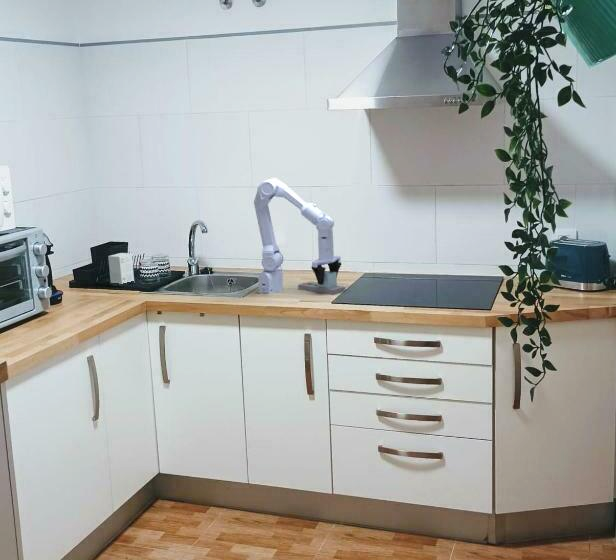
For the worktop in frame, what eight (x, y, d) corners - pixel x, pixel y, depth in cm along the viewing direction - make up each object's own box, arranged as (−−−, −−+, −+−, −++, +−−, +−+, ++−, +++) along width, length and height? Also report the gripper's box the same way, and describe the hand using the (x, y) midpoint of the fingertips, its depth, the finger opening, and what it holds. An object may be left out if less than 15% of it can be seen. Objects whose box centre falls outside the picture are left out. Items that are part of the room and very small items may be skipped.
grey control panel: (333, 296, 304) (333, 289, 304) (298, 290, 316) (298, 284, 316) (345, 293, 309) (345, 285, 309) (310, 287, 321) (309, 280, 321)
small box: (123, 282, 346) (120, 252, 343) (134, 283, 343) (132, 253, 340) (110, 286, 339) (107, 255, 336) (122, 287, 336) (119, 256, 333)
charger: (329, 293, 307) (328, 272, 305) (317, 291, 311) (317, 270, 309) (337, 290, 310) (336, 270, 309) (325, 289, 314) (324, 268, 313)
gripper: (321, 251, 299) (322, 287, 302) (346, 245, 310) (347, 280, 313) (307, 250, 304) (308, 285, 307) (332, 244, 314) (333, 278, 317)
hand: (327, 282), depth 310 cm, fingers open, 7 cm apart
